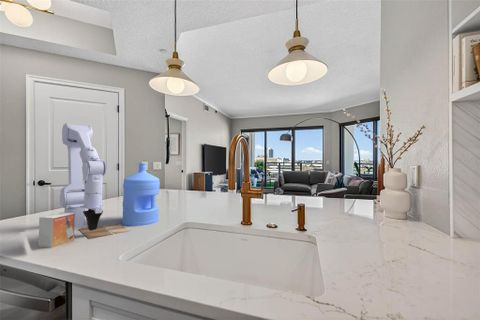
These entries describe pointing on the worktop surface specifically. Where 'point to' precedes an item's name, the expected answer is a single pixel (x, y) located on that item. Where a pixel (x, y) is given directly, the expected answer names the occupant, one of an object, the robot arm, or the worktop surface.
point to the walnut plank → (95, 232)
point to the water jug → (140, 198)
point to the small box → (56, 229)
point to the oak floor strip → (116, 228)
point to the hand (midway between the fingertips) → (92, 229)
